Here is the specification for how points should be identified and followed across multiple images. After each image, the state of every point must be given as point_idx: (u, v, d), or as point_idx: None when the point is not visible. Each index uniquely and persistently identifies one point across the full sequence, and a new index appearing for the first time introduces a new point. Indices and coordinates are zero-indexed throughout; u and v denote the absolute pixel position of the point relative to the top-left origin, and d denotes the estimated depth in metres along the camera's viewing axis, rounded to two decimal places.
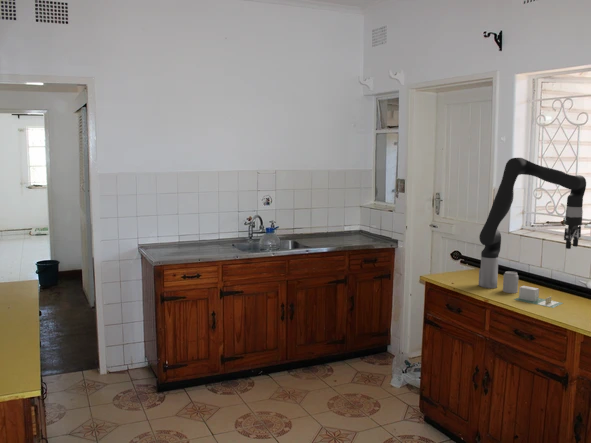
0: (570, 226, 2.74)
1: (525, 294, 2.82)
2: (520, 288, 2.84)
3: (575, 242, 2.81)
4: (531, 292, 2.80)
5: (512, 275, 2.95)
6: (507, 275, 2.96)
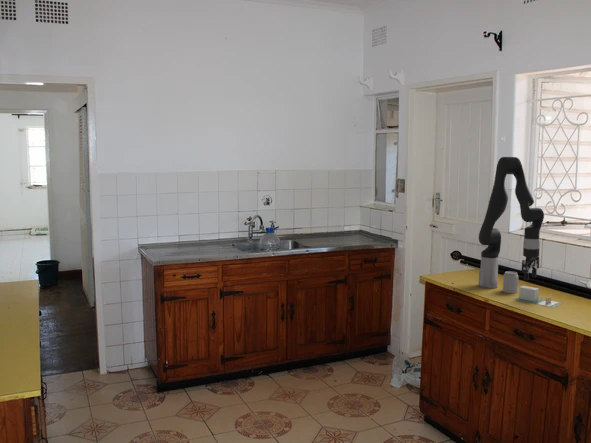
0: (527, 258, 2.78)
1: (525, 294, 2.82)
2: (520, 288, 2.84)
3: (533, 273, 2.84)
4: (531, 292, 2.80)
5: (512, 275, 2.95)
6: (507, 275, 2.96)
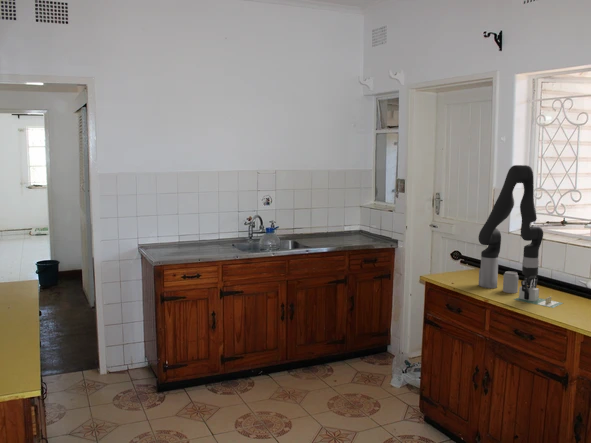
0: (526, 276, 2.79)
1: None
2: (520, 288, 2.84)
3: None
4: (531, 292, 2.80)
5: (512, 275, 2.95)
6: (507, 275, 2.96)
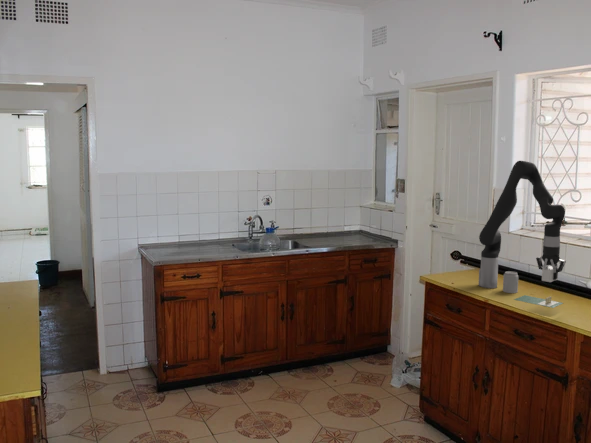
0: None
1: None
2: None
3: None
4: None
5: (512, 275, 2.95)
6: (507, 275, 2.96)
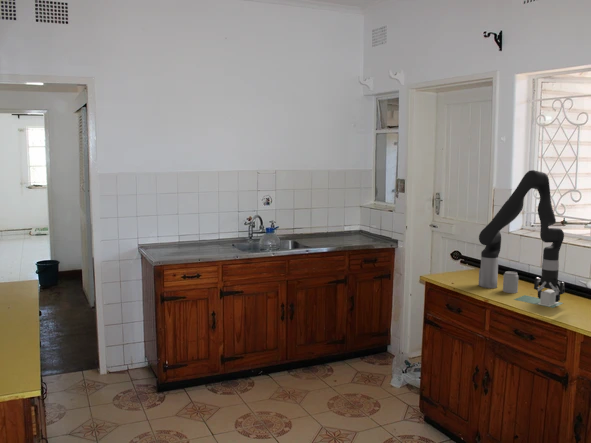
0: None
1: None
2: None
3: None
4: None
5: (512, 275, 2.95)
6: (507, 275, 2.96)
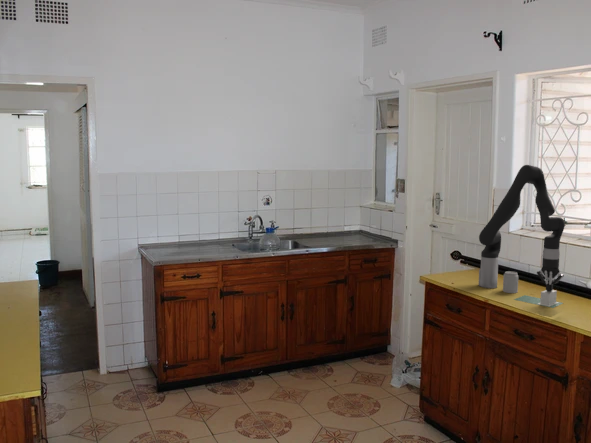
0: None
1: None
2: None
3: None
4: None
5: (512, 275, 2.95)
6: (507, 275, 2.96)
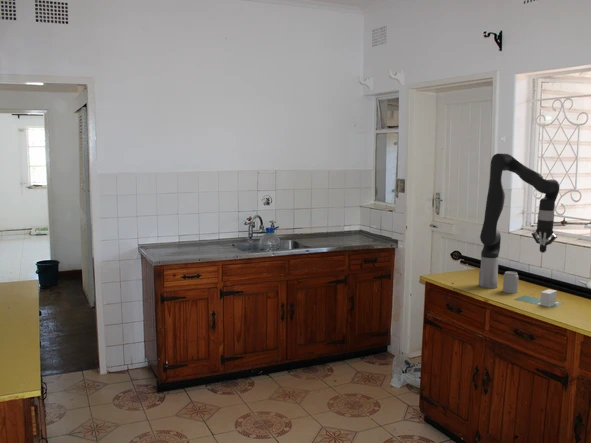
0: None
1: None
2: None
3: None
4: None
5: (512, 275, 2.95)
6: (507, 275, 2.96)
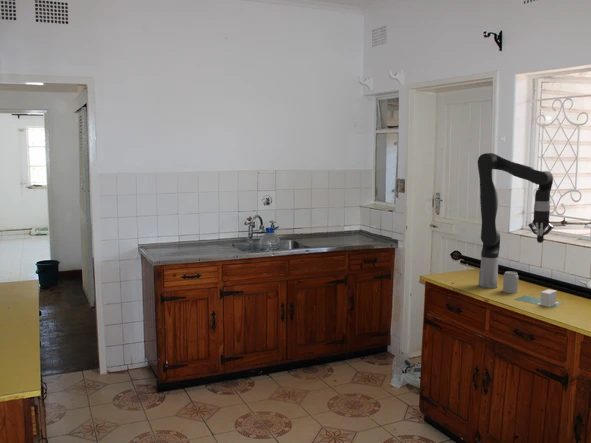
0: None
1: None
2: None
3: None
4: None
5: (512, 275, 2.95)
6: (507, 275, 2.96)
